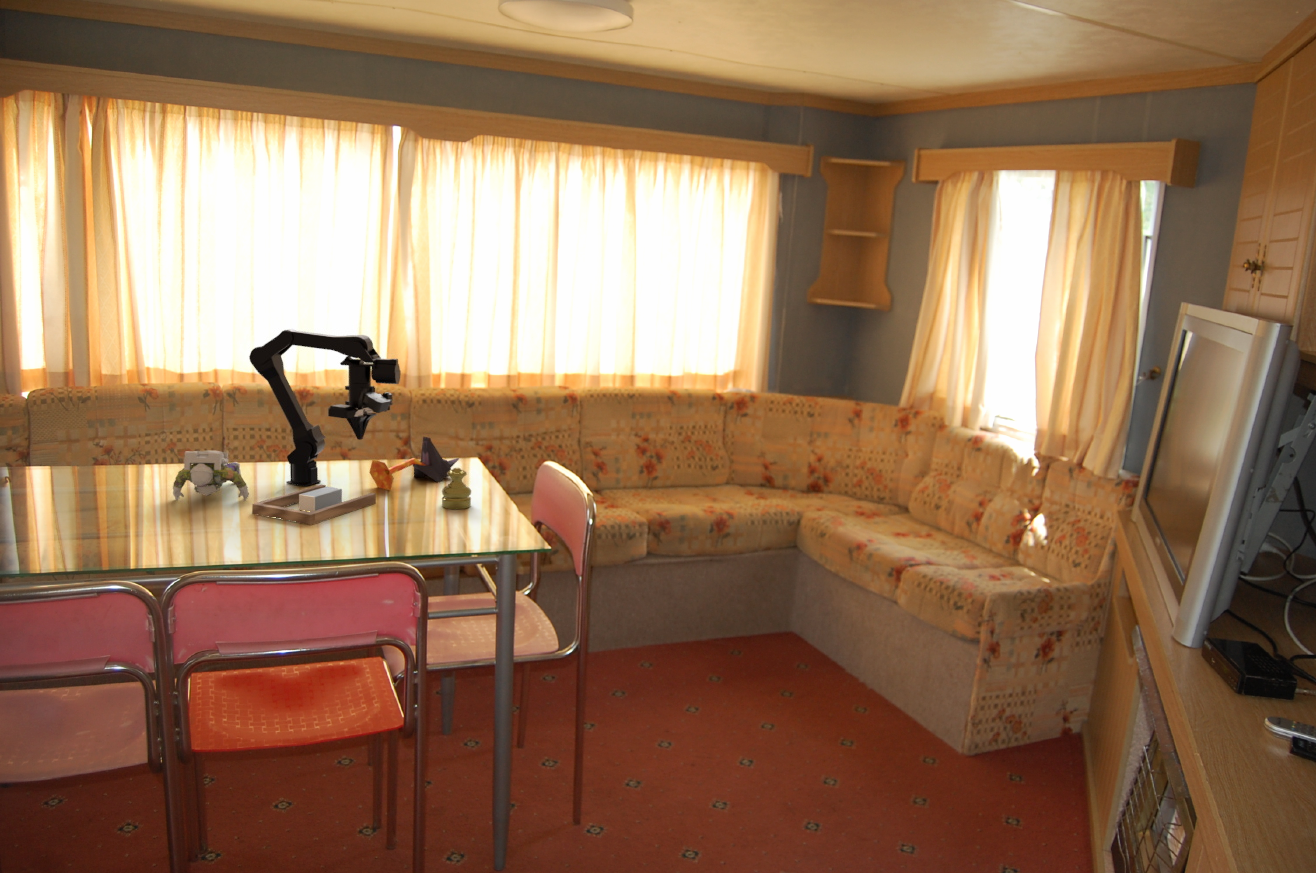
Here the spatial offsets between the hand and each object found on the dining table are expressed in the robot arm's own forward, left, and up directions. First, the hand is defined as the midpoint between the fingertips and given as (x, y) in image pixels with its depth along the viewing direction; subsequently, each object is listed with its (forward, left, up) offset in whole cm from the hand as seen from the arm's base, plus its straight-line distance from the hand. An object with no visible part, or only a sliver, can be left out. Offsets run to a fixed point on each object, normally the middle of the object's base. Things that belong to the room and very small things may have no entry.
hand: (359, 439), depth 250 cm
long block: (+6, -17, -11) cm, 21 cm away
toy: (-22, -28, -13) cm, 38 cm away
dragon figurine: (+9, +12, -13) cm, 20 cm away
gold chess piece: (+33, -3, -13) cm, 36 cm away
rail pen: (+6, -23, -13) cm, 27 cm away
